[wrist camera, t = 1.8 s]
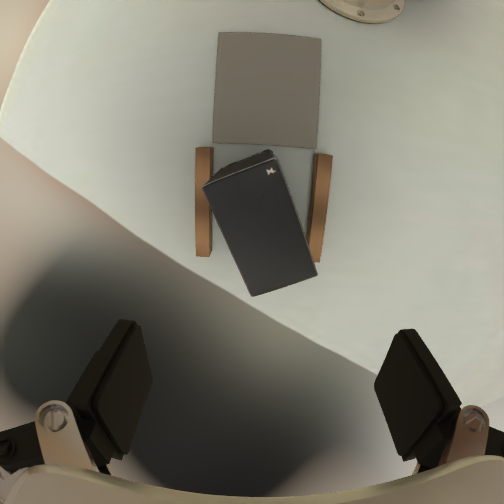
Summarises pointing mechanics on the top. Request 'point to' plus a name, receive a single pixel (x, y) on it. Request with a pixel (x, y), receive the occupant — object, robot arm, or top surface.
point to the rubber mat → (267, 89)
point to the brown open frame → (315, 213)
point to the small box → (260, 223)
